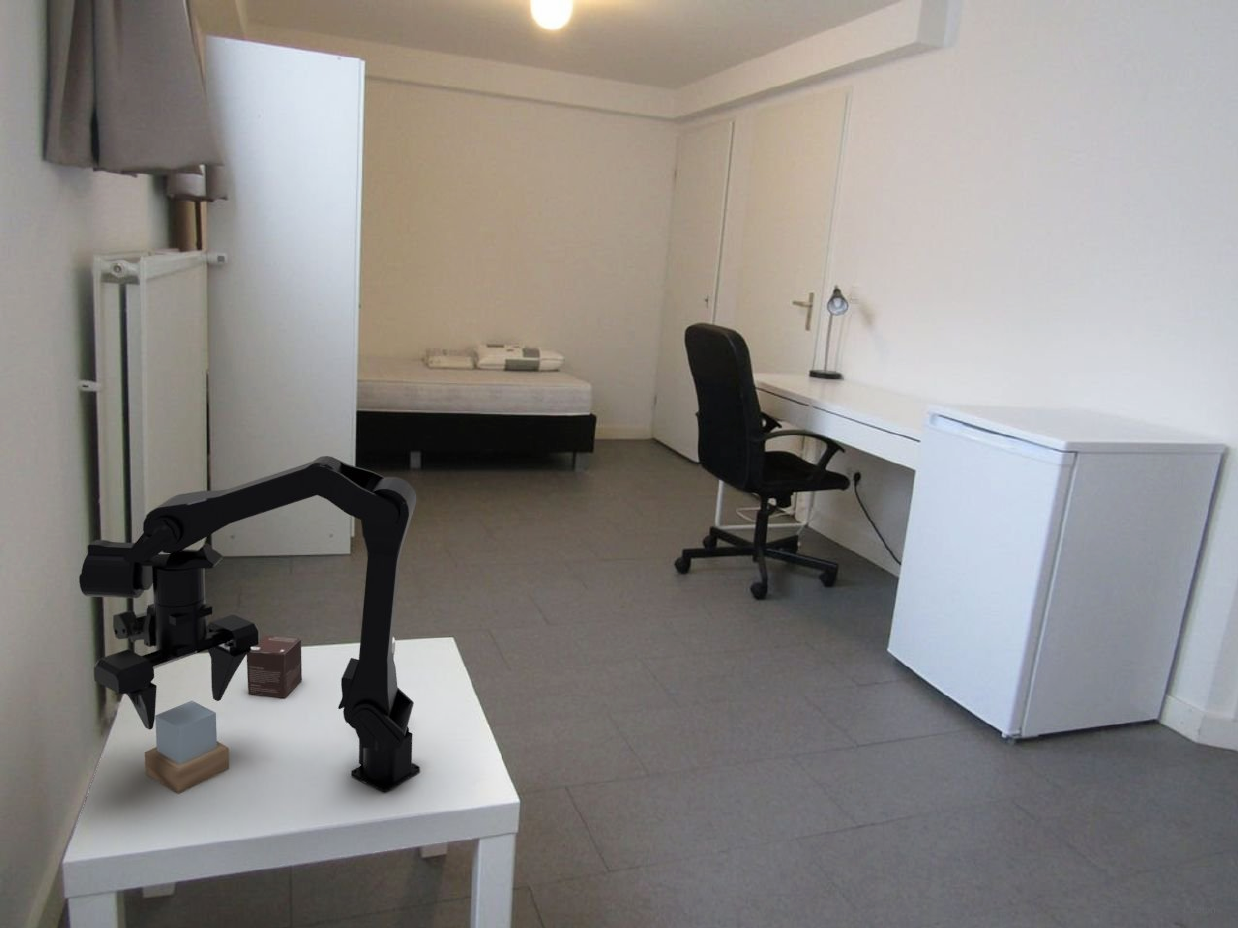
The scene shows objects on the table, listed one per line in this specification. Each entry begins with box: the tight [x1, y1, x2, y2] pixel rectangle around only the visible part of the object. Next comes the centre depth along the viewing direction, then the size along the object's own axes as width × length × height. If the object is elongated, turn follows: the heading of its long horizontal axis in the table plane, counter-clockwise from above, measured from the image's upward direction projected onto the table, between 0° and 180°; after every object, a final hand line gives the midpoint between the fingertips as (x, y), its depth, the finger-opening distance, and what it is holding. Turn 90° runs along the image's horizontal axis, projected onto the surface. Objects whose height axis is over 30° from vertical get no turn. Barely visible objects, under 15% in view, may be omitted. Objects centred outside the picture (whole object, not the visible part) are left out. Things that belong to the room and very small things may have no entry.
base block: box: [144, 741, 230, 794], centre depth 114 cm, size 7×7×3 cm
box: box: [246, 634, 303, 698], centre depth 136 cm, size 6×6×7 cm
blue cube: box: [154, 700, 218, 765], centre depth 113 cm, size 5×5×5 cm
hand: (183, 713), depth 112 cm, fingers open, 9 cm apart
